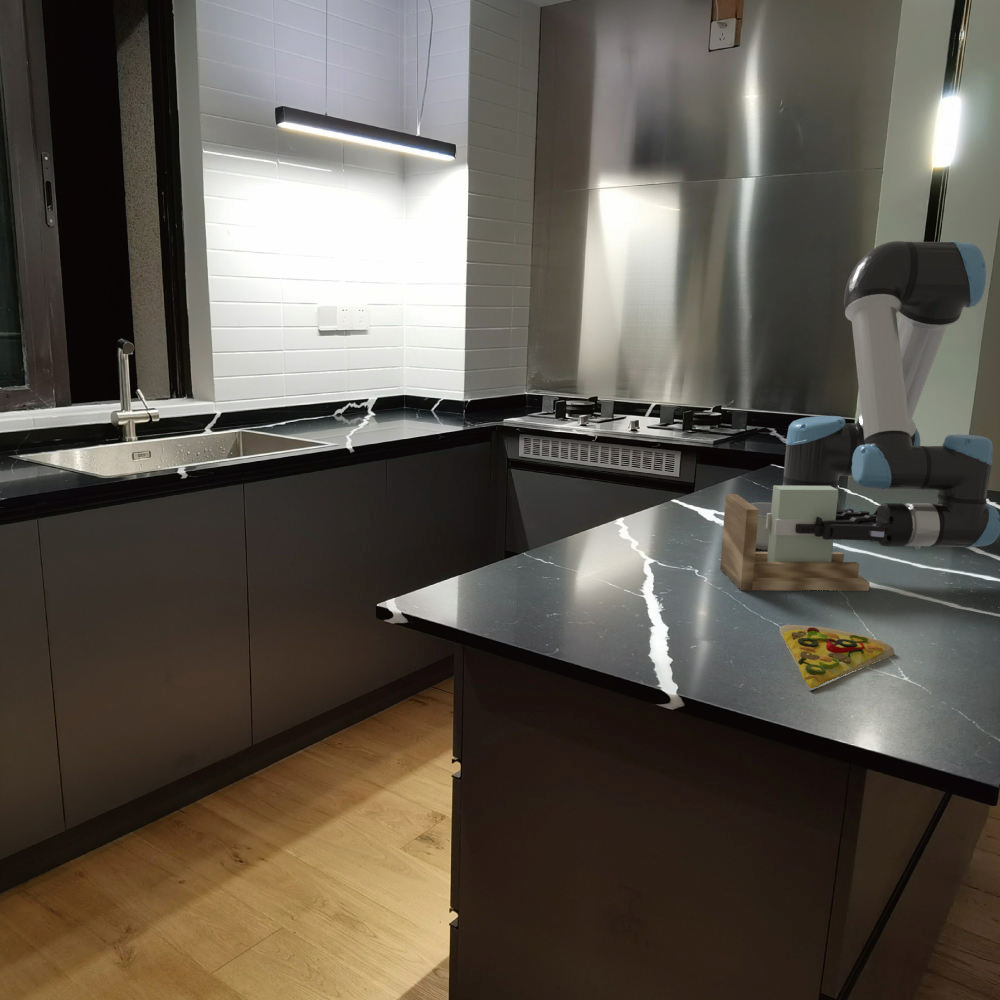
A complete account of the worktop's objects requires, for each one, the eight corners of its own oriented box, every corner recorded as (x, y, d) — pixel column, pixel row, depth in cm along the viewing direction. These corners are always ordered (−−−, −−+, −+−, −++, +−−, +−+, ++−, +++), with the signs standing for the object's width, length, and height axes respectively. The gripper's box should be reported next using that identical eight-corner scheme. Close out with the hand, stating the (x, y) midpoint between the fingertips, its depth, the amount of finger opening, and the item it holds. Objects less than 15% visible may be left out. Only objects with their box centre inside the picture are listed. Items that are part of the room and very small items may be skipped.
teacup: (799, 544, 175) (803, 505, 173) (793, 557, 166) (796, 517, 164) (729, 535, 181) (732, 498, 179) (719, 548, 171) (722, 509, 170)
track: (839, 569, 158) (847, 495, 155) (868, 590, 146) (877, 510, 143) (720, 569, 157) (725, 494, 154) (740, 590, 146) (746, 509, 143)
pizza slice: (894, 654, 121) (897, 634, 120) (875, 712, 104) (878, 689, 103) (781, 632, 129) (783, 613, 128) (745, 683, 111) (747, 661, 110)
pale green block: (822, 563, 153) (830, 485, 150) (830, 568, 150) (838, 490, 147) (766, 562, 153) (773, 485, 150) (773, 568, 149) (780, 489, 146)
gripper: (925, 559, 143) (786, 558, 142) (879, 533, 159) (754, 532, 158) (931, 515, 141) (790, 514, 141) (884, 493, 158) (757, 492, 157)
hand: (771, 524), depth 150 cm, fingers closed on pale green block, 3 cm apart
